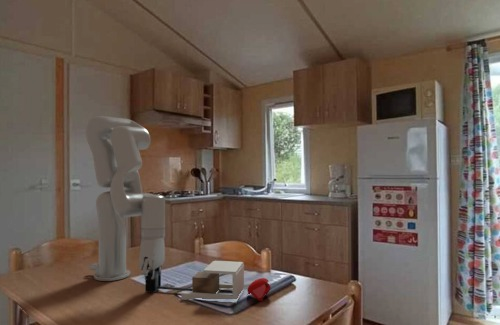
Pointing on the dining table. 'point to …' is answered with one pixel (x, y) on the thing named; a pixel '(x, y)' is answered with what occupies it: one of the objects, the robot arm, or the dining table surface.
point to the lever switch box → (222, 268)
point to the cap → (259, 288)
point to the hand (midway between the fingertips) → (153, 288)
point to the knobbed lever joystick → (196, 283)
